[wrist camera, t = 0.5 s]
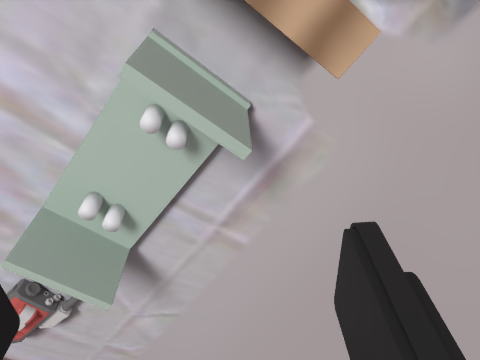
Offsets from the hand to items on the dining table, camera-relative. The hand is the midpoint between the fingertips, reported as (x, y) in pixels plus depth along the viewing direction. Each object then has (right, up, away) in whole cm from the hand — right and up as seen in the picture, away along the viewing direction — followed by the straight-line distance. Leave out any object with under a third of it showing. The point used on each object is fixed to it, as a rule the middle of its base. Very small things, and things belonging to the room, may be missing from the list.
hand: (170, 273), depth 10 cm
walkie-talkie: (-29, -15, +46) cm, 57 cm away
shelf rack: (-10, +5, +33) cm, 35 cm away
